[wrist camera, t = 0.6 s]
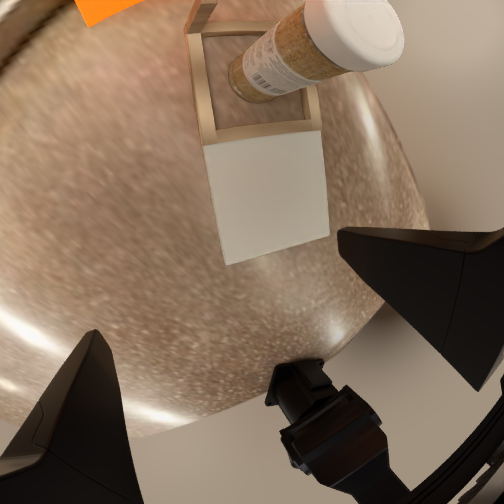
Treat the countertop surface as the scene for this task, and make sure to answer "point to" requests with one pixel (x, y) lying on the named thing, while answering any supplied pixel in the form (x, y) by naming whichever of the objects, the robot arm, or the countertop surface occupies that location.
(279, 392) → the robot arm
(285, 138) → the mat
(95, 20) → the orange juice
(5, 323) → the countertop surface
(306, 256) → the countertop surface
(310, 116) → the frame
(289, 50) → the sprinkles bottle
